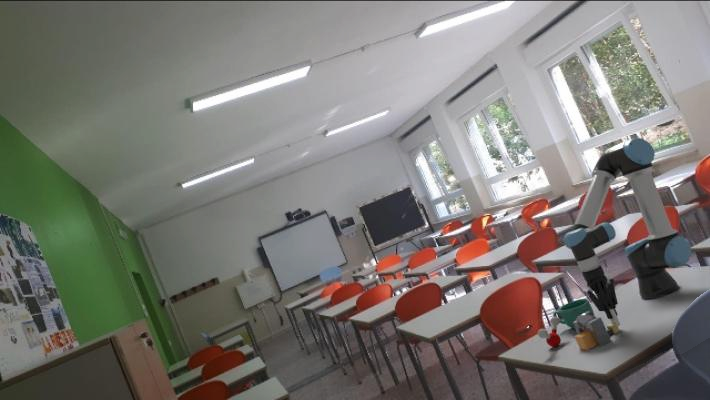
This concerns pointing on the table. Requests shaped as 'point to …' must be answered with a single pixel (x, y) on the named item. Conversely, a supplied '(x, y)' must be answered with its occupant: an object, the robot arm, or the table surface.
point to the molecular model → (551, 338)
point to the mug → (573, 311)
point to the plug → (587, 339)
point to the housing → (592, 327)
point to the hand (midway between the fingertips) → (616, 325)
